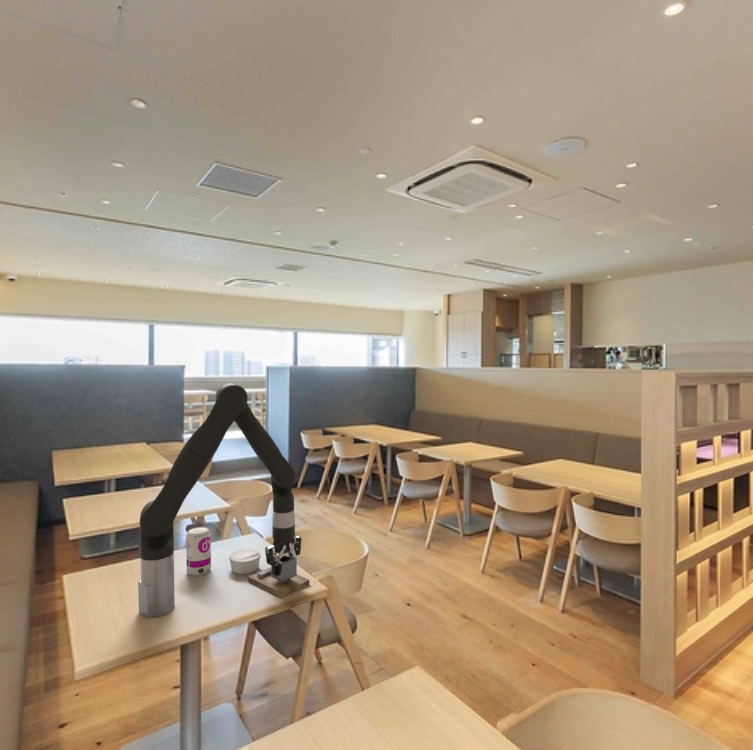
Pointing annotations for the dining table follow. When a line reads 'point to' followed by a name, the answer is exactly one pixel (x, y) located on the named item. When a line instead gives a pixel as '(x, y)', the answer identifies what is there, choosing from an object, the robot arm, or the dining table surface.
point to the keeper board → (277, 583)
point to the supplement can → (198, 551)
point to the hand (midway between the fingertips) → (284, 571)
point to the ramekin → (244, 561)
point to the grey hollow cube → (286, 568)
